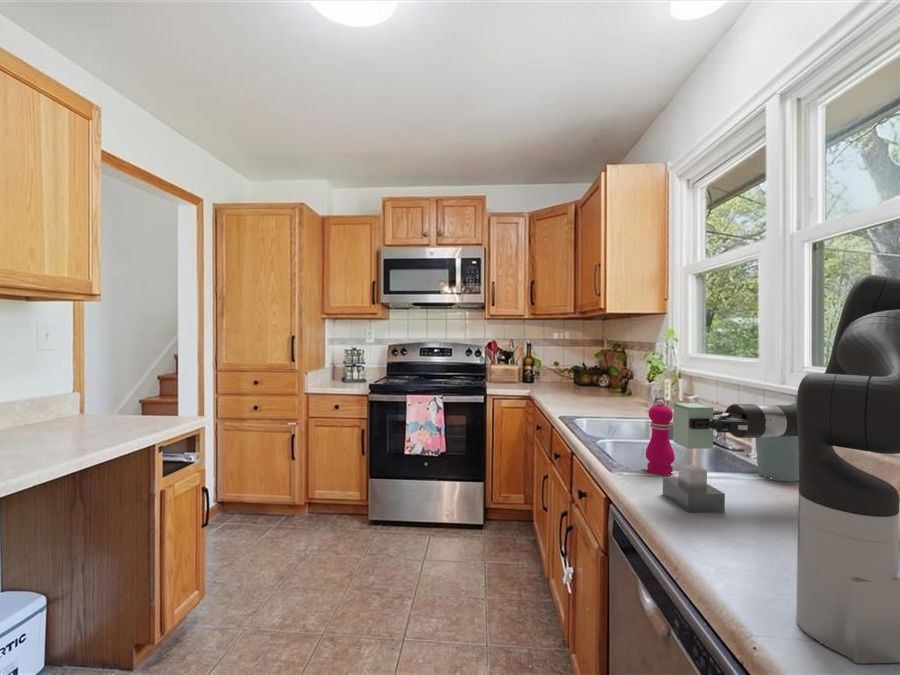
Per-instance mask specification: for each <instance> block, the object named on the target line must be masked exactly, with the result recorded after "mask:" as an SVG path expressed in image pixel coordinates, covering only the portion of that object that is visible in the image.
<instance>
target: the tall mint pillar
mask: <svg viewBox="0 0 900 675" xmlns="http://www.w3.org/2000/svg"><path fill="white" fill-rule="evenodd" d="M713 411H714V407H713V406H710V405H706V404H701V403H699V402H689V403H688V402H673V414H674V421H673V430H672V431H673V432H672V433H673V435H672V436H673V438H672V439H673V440H672V441H673V443H675V444H677V445H680V446H681V447H683V448H686V449H691V450H692V449H702V450H703V449H704V450H705V449H714V430H713V431H710V430H708V429H691V428H690V427H689V420H690V419H691V418H706V419H708V418H713Z"/></svg>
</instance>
